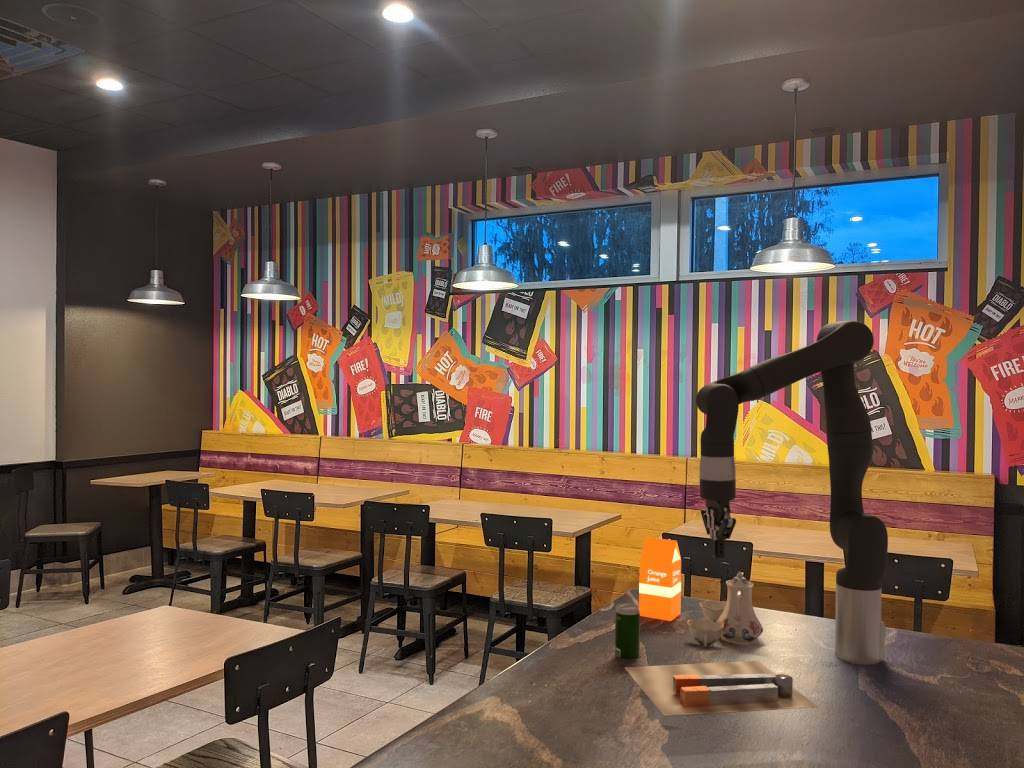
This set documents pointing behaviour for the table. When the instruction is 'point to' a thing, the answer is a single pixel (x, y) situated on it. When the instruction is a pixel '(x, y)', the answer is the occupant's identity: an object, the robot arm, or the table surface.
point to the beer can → (627, 631)
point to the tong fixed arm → (728, 695)
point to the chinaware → (728, 617)
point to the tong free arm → (734, 681)
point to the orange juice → (660, 579)
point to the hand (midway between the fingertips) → (718, 557)
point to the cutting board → (661, 677)
